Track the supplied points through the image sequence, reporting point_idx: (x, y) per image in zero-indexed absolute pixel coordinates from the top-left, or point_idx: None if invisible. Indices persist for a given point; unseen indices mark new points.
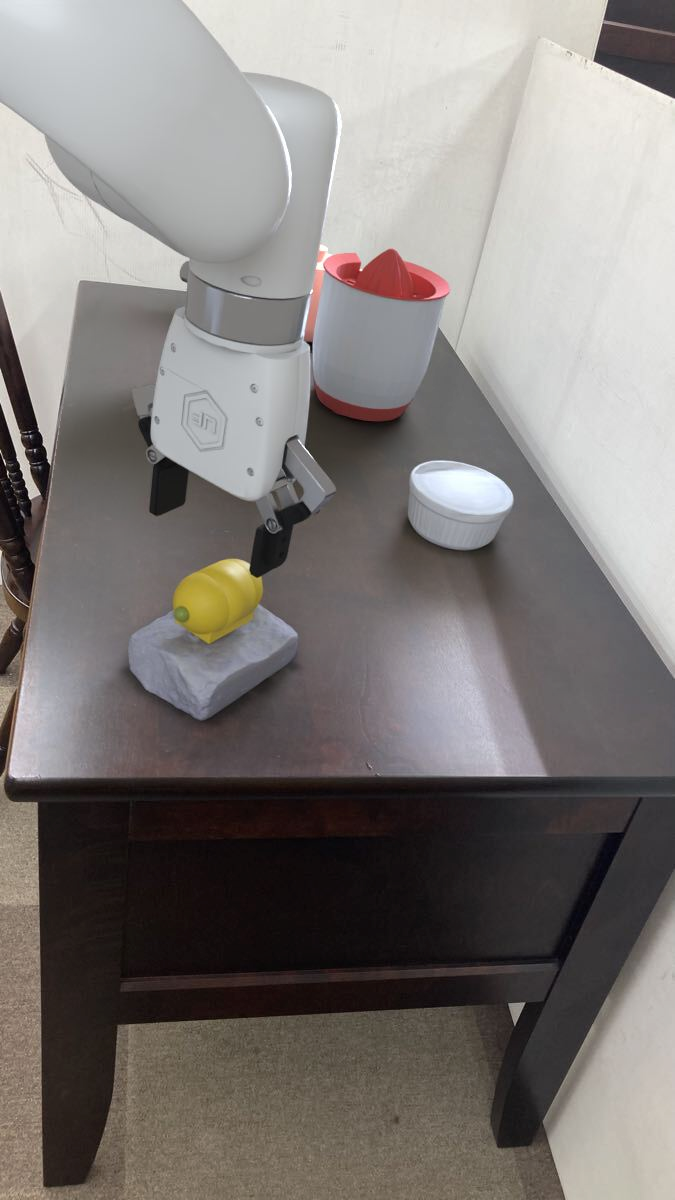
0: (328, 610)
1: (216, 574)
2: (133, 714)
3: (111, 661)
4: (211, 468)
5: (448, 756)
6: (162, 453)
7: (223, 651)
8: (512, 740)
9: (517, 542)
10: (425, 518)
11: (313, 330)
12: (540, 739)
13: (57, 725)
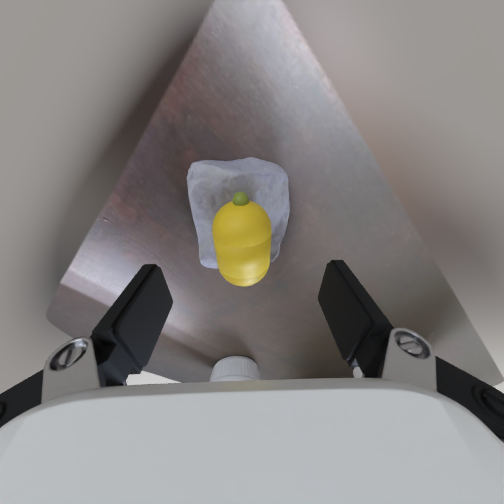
0: (229, 295)
1: (240, 254)
2: (237, 127)
3: (292, 160)
4: (169, 468)
5: (94, 258)
6: (398, 389)
7: (213, 212)
8: (91, 289)
9: (209, 374)
10: (238, 367)
11: None
12: (86, 298)
13: (271, 55)
